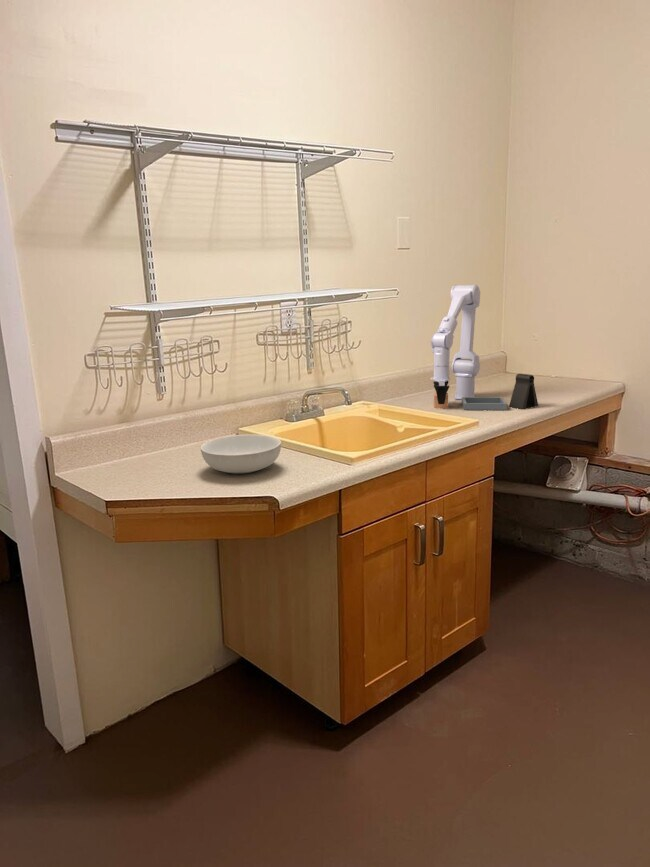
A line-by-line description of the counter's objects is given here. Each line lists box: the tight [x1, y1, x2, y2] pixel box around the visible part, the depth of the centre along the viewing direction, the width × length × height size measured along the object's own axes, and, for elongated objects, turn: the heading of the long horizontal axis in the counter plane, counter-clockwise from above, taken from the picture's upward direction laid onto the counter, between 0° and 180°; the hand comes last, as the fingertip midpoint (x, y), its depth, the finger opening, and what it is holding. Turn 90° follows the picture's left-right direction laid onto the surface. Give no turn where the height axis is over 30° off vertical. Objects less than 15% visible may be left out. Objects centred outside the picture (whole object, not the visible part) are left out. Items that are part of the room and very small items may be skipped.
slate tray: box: [461, 396, 508, 412], centre depth 243 cm, size 13×15×2 cm
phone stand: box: [508, 373, 539, 410], centre depth 240 cm, size 9×6×12 cm, turn 124°
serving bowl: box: [199, 434, 282, 475], centre depth 172 cm, size 21×21×7 cm
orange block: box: [433, 392, 449, 410], centre depth 245 cm, size 5×5×5 cm
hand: (440, 402), depth 245 cm, fingers open, 7 cm apart
